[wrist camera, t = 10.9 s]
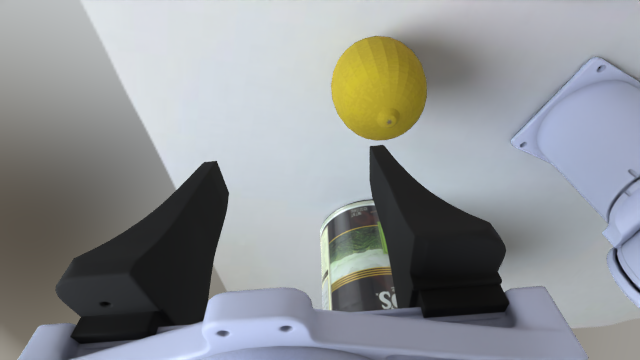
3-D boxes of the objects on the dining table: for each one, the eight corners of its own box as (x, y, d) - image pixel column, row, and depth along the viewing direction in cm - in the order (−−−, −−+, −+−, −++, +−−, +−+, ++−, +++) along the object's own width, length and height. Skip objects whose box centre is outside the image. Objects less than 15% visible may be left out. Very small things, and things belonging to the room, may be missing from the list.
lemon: (346, 7, 20) (362, 53, 14) (422, 37, 22) (467, 90, 16) (317, 86, 24) (320, 150, 18) (385, 108, 25) (410, 174, 19)
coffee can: (353, 184, 30) (379, 341, 19) (435, 220, 34) (496, 369, 23) (300, 246, 36) (298, 393, 25) (376, 271, 39) (402, 409, 29)
